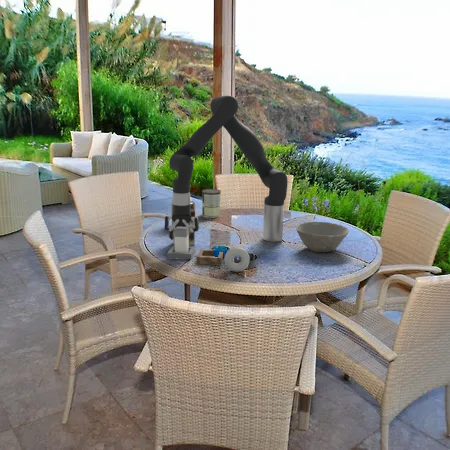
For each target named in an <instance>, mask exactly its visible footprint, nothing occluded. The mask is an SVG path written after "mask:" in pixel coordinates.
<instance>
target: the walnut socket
mask: <svg viewBox="0 0 450 450" xmlns="http://www.w3.org/2000/svg"><path fill="white" fill-rule="evenodd" d="M213 250H214V249H206V248H205V249H204V248H200V249H199V251H198V253H197V256H196V264H197V263H199V265H212V266H215V265H217V266H221V265H222V263H223V260H224V258H223V252H219V255H218V257H215V256H213V252H214V251H213Z"/></svg>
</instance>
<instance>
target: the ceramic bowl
mask: <svg viewBox="0 0 450 450" xmlns="http://www.w3.org/2000/svg"><path fill="white" fill-rule="evenodd" d="M296 232H297V234H298V237H299V238H300V240H301V241H302V244H304V246H305V247H306V248H307V249H308V250H310V251H312V252H315V253H329V252H333V251H335V250H336V249H337V248H338V247H339V245H340V244H341V243H342V242H343V241H344V239H346V237H347V235H348V234H349V232H350V229H349V228H348V227H346V226H343V225H341V224H337V223H333V222H326V221H309V222H303V223H300V224H298V225H297V226H296Z"/></svg>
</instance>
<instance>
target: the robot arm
mask: <svg viewBox="0 0 450 450" xmlns="http://www.w3.org/2000/svg"><path fill="white" fill-rule="evenodd" d="M209 108H210V111H211V114H212V115H211V117H210V118H209V119H208V120H207V121H205V122H204V123H203V124H202V125H201V126H199V127H198V128H197V129H196V130H195V131H194V132H193V133H192V134H191V136H190V137H189V139H188V140H187V141H186V142H185V144H183V145H182V146H181V147H180V148H178V149H176V151H175V152H173V154H172V155H171V157H170V158H169V161H168V163H169V167H170V168H171V170H173V171H175V172H178V173H177V174H178V175H177V177H175V178H173V180H172V196H171V197H172V200H171V201H172V202H171V208H172V207H173V215H172V214H171V215H169V214H166V215H165V216H164V230H165V231H167V232H168V238H169V239H170V241H173V228H174V227H175V226H178V227H180V226H182V227H185V226H187V228H188V229H189V230H190V231H191V241H193V239H194V232H195V233H196V232H198V231H199V229H200V226H199V225H200V224H199V223H200V222H199V216H198V215H195V217H191V198H192V197H191V183H190V182H191V181H192V179H191V178H192V176H193V172H194V162H193V161H194V160H193V159H192V158H193V157H197V156H198V155H200V154H201V153H202V151H203V150H204V148H206V146H207V144H209V142H210V141H211V140H212V138H213V137H214V136H215V135H216V134H217V132H219V130H220V129H221V128H224V129H225V130H226V131H227V133H228V135H229V136H230V137H231V139H232V140H233V141H234V143H235V144H236V145H237V147H238V149H239V151H241V152H242V154H243V155H244V157H245V158H246V159H247V160H248V162H249V163H250V165H252V167H253V168H254V170H255V171H256V173H257V174H258V176H259V177H260V180H261V182H262V184H263V185H264V187H267V188H268V189H269V191H268V195H267V196H266V197H264V202H263V203H264V205H263V228H262V229H263V231H262V240H263V241H266V242H274V243H275V242H283V235H284V234H283V233H284V232H283V231H284V214H285V213H284V212H285V211H284V209H285V201H286V198H287V192H288V183H289V182H288V177H287V174H286V173H285V172H284V171H282V170H279V169H276V168H275V167H273V165H272V163H270V162H269V160H268V158H267V157H266V154H265V153H266V152H265V147H264V145H263V144H262V142H261V141H260V139H259V138H258V137H257V135H256V134H255V133H254V131H252V129H250V128H249V127H248V126H246V125H245V124H243V122H242V121H240V120H239V119H238V118H237V117H236V114H237V112H238V110H239V102H238V100H237V98H236V97H234V96H232V95H227V94H226V95H221V96H217V97H214V98H212V99H211V101H210V106H209ZM172 220H173V222H174V224H173V225H172V224H171V226H169V224H170V221H172ZM191 220H193V222H195V228H193V226H192V224H191V223H190V221H191Z"/></svg>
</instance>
